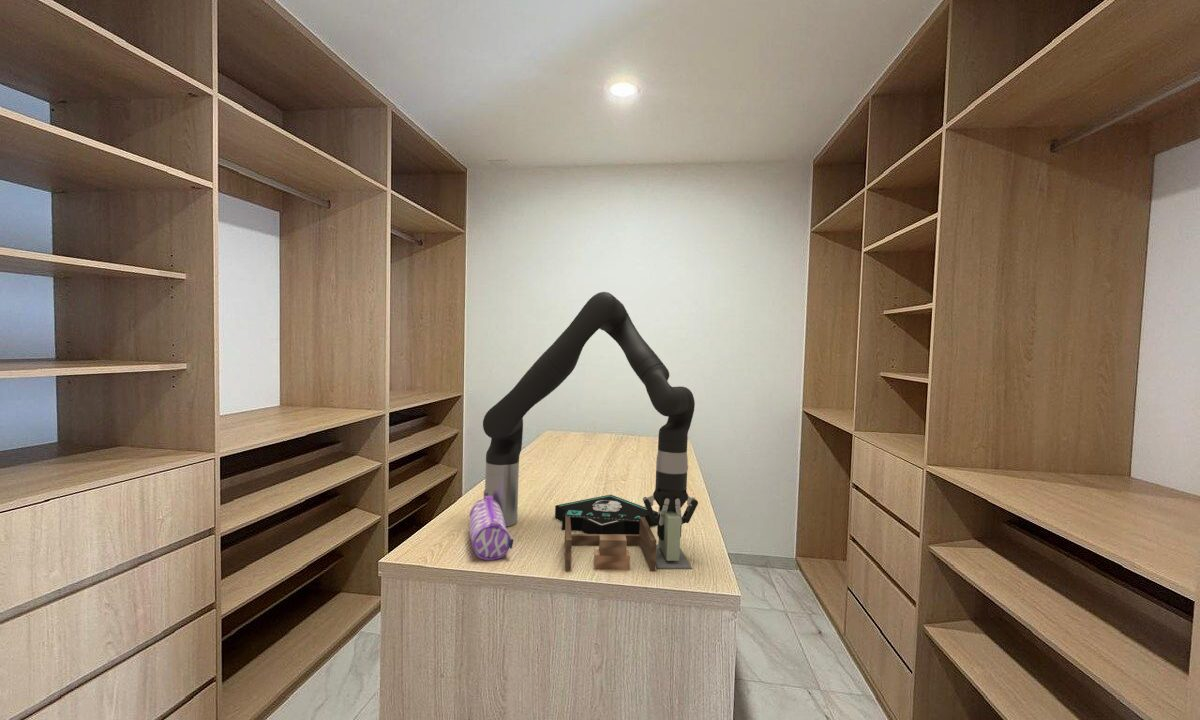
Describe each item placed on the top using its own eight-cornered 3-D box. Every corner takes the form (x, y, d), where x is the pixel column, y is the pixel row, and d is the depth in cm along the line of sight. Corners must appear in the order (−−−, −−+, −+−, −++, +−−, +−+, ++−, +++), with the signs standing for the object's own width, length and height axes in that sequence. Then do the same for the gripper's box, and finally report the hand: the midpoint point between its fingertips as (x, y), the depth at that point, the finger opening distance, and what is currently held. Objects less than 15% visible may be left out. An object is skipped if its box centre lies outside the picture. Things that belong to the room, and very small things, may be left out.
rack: (565, 570, 116) (566, 539, 116) (564, 543, 132) (565, 516, 132) (655, 570, 118) (656, 540, 118) (643, 544, 134) (644, 517, 134)
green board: (658, 544, 131) (659, 505, 131) (670, 544, 132) (671, 505, 131) (666, 560, 121) (668, 518, 121) (679, 560, 122) (681, 518, 121)
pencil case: (513, 561, 121) (514, 520, 121) (472, 565, 118) (473, 523, 118) (500, 529, 142) (501, 494, 142) (465, 531, 139) (466, 496, 139)
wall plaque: (658, 545, 134) (657, 510, 164) (658, 530, 134) (657, 497, 164) (544, 537, 137) (563, 504, 167) (544, 522, 137) (564, 491, 167)
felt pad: (657, 568, 119) (657, 567, 119) (647, 545, 133) (647, 544, 133) (692, 568, 120) (692, 567, 120) (678, 545, 134) (678, 544, 134)
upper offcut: (599, 555, 118) (600, 540, 118) (599, 549, 121) (599, 534, 121) (626, 555, 118) (626, 540, 118) (624, 549, 121) (625, 535, 121)
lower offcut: (594, 570, 118) (594, 555, 118) (593, 563, 121) (594, 549, 121) (629, 570, 118) (630, 555, 118) (628, 564, 122) (628, 549, 122)
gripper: (695, 465, 130) (693, 534, 131) (640, 464, 129) (637, 533, 130) (704, 473, 123) (701, 545, 123) (645, 472, 122) (642, 545, 122)
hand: (668, 539), depth 126 cm, fingers closed on green board, 3 cm apart
